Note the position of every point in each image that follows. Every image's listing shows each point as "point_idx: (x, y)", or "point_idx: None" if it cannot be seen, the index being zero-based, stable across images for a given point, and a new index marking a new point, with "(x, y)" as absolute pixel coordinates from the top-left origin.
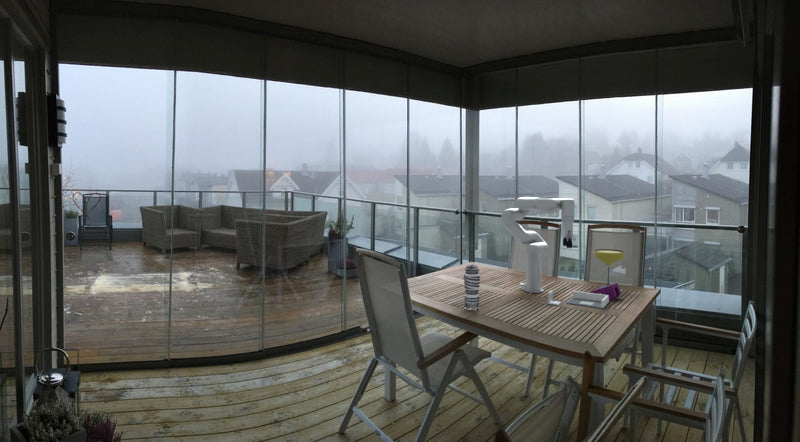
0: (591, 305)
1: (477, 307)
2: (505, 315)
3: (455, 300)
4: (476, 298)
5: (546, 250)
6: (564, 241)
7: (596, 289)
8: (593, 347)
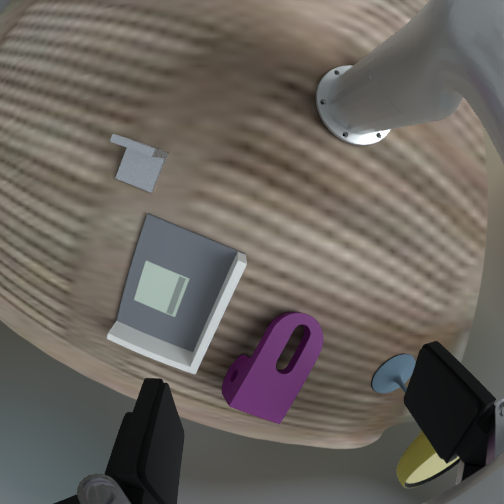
0: (131, 297)
1: None
2: (21, 44)
3: None
4: None
5: None
6: (452, 400)
7: (301, 352)
8: None
